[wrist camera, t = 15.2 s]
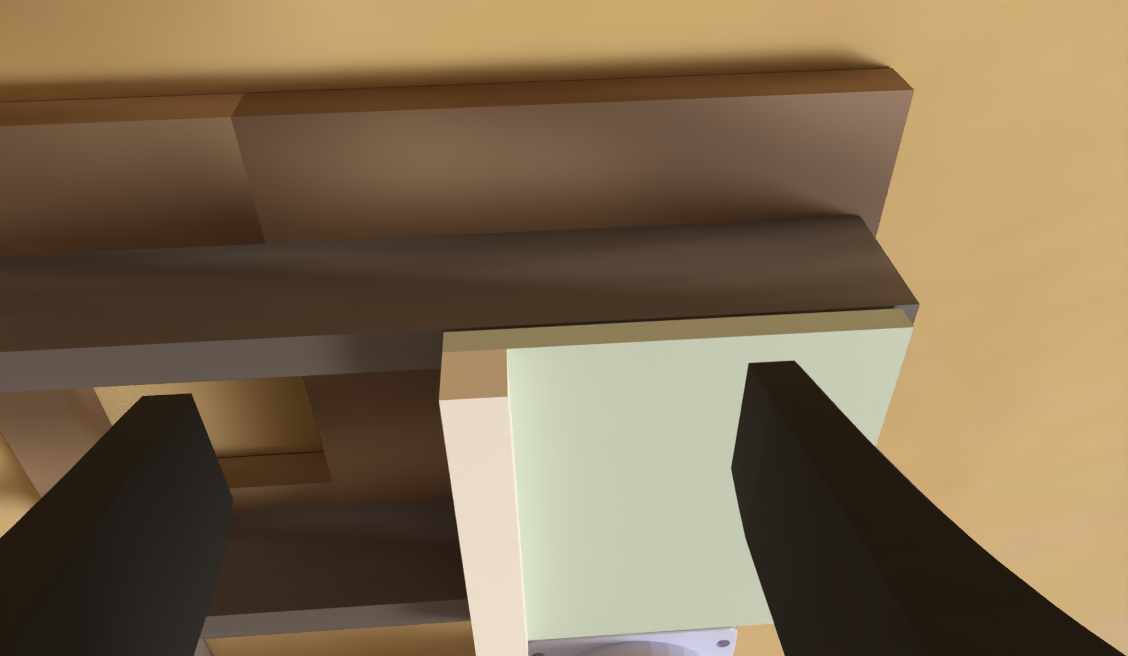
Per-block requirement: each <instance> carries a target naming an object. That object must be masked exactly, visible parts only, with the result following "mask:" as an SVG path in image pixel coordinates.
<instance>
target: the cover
mask: <svg viewBox="0 0 1128 656" xmlns="http://www.w3.org/2000/svg"><path fill="white" fill-rule="evenodd" d="M913 329H914V326H913V325H912V323H911V322H910V320H909V319H908V317H907V316H906V314H905V312H904V311H903V309H902V308H899V309H880V310H861V311H842V312H823V313H803V314H784V315H765V316H746V317H727V318H708V319H689V320H669V321H650V322H631V323H612V324H593V325H574V326H555V327H535V328H516V329H497V330H478V331H459V332H444V336H443V350H442V364H441V378H440V392H439V405H440V411H441V418H442V425H443V432H444V439H445V446H446V453H447V459H448V466H449V473H450V480H451V487H452V494H453V501H454V507H455V514H456V521H457V528H458V535H459V542H460V548H461V555H462V562H463V569H464V576H465V583H466V590H467V596H468V603H469V610H470V617H471V624H472V631H473V638H474V644H475V651H476V656H528V641H530V640H545V639H559V638H573V637H588V636H602V635H617V634H631V633H645V632H660V631H674V630H688V629H703V628H717V627H732V626H746V625H760V624H774V622H773V619H772V616H771V613H770V610H769V607H768V605H767V602H766V599H765V596H764V593H763V590H762V587H761V584H760V581H759V578H758V575H757V572H756V569H755V566H754V563H753V560H752V557H751V554H750V551H749V548H748V545H747V542H746V539H745V534H744V530H743V525H742V521H741V516H740V512H739V507H738V502H737V497H736V492H735V487H734V482H733V477H732V472H731V465H732V459H733V453H734V447H735V441H736V435H737V429H738V423H739V417H740V411H741V405H742V399H743V393H744V387H745V381H746V375H747V369H748V363H755V362H774V361H792V360H794V361H795V362H796V363H797V364H798V365H800V366H801V368H802V369H803V370H804V371H805V372H806V373H807V374H808V375H809V376H810V377H811V378H812V379H813V380H814V382H815V383H816V384H817V385H818V386H819V387H820V388H821V389H822V390H823V391H824V392H825V394H826V395H827V396H828V397H829V398H830V399H831V400H832V401H833V402H834V403H835V404H836V406H837V407H838V408H839V409H840V410H841V411H842V412H843V413H844V414H845V415H846V416H847V417H848V418H849V420H850V421H851V422H852V423H853V424H854V425H855V426H856V427H857V428H858V429H859V430H860V431H861V432H862V433H863V434H864V435H865V436H866V438H867V439H868V440H869V441H870V442H871V443H872V444H873V445H874V446H875V447H876V444H877V441H878V438H879V435H880V432H881V429H882V425H883V422H884V419H885V416H886V413H887V410H888V407H889V404H890V400H891V397H892V394H893V391H894V388H895V385H896V382H897V379H898V376H899V372H900V369H901V366H902V363H903V360H904V357H905V354H906V351H907V347H908V344H909V341H910V338H911V335H912V332H913Z"/></svg>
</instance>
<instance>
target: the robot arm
mask: <svg viewBox="0 0 1128 656" xmlns="http://www.w3.org/2000/svg"><path fill="white" fill-rule="evenodd" d="M731 472H732V477H733V482H734V487H735V492H736V497H737V502H738V507H739V512H740V516H741V521H742V525H743V530H744V534H745V539H746V542H747V545H748V548H749V551H750V554H751V557H752V560H753V563H754V566H755V569H756V572H757V575H758V578H759V581H760V584H761V587H762V590H763V593H764V596H765V599H766V602H767V605H768V607H769V610H770V613H771V616H772V619H773V622H774V625H775V628H776V631H777V634H778V637H779V640H780V643H781V645H782V648H783V651H784V654H785V656H1126V655H1124V654H1123V653H1121V652H1120V651H1118V650H1117V649H1115V648H1114V647H1112V646H1111V645H1110V644H1108V643H1107V642H1105V641H1104V640H1102V639H1101V638H1099V637H1098V636H1097V635H1095V634H1094V633H1092V632H1091V631H1089V630H1088V629H1086V628H1085V627H1084V626H1082V625H1081V624H1080V623H1078V622H1077V621H1075V620H1074V619H1073V618H1071V617H1070V616H1069V615H1067V614H1066V613H1064V612H1063V611H1062V610H1060V609H1059V608H1058V607H1056V606H1055V605H1054V604H1052V603H1051V602H1050V601H1048V600H1047V599H1046V598H1045V597H1043V596H1042V595H1041V594H1040V593H1038V592H1037V591H1036V590H1034V589H1033V588H1032V587H1031V586H1029V585H1028V584H1027V583H1026V582H1024V581H1023V580H1022V579H1020V578H1019V577H1018V576H1017V575H1015V574H1014V573H1013V572H1012V571H1010V570H1009V569H1008V568H1006V567H1005V566H1004V565H1003V564H1001V563H1000V562H999V561H998V560H996V559H995V558H994V557H993V556H992V555H991V554H989V553H988V552H987V551H986V550H985V549H983V548H982V547H981V546H980V545H979V544H978V543H976V542H975V541H974V540H973V539H972V538H971V537H969V536H968V535H967V534H966V533H965V532H964V531H963V530H962V529H961V528H959V527H958V526H957V525H956V524H955V523H954V522H953V521H952V520H951V519H949V518H948V517H947V516H946V515H945V514H944V513H943V512H942V511H941V510H940V509H938V508H937V507H936V506H935V505H934V504H933V503H932V502H931V501H930V500H929V499H928V498H927V497H926V496H925V495H924V494H923V493H921V492H920V491H919V490H918V489H917V488H916V487H915V486H914V485H913V484H912V483H911V482H910V481H909V480H908V479H907V478H906V477H905V476H904V475H903V474H902V473H901V472H900V471H899V470H898V469H897V468H896V467H895V466H894V465H893V464H892V463H891V462H890V461H889V460H888V459H887V458H886V457H885V456H884V455H883V454H882V453H881V452H880V451H879V450H878V449H877V448H876V447H875V446H874V445H873V444H872V443H871V442H870V441H869V440H868V439H867V438H866V436H865V435H864V434H863V433H862V432H861V431H860V430H859V429H858V428H857V427H856V426H855V425H854V424H853V423H852V422H851V421H850V420H849V418H848V417H847V416H846V415H845V414H844V413H843V412H842V411H841V410H840V409H839V408H838V407H837V406H836V404H835V403H834V402H833V401H832V400H831V399H830V398H829V397H828V396H827V395H826V394H825V392H824V391H823V390H822V389H821V388H820V387H819V386H818V385H817V384H816V383H815V382H814V380H813V379H812V378H811V377H810V376H809V375H808V374H807V373H806V372H805V371H804V370H803V369H802V368H801V366H800V365H798V364H797V363H796V362H795V361H794V360H792V361H774V362H755V363H748V369H747V375H746V381H745V387H744V393H743V399H742V405H741V411H740V417H739V423H738V429H737V435H736V441H735V447H734V453H733V459H732V465H731ZM232 503H233V497H232V494H231V492H230V489H229V487H228V484H227V482H226V479H225V477H224V474H223V472H222V469H221V467H220V464H219V462H218V459H217V457H216V454H215V452H214V449H213V447H212V444H211V442H210V439H209V437H208V434H207V432H206V429H205V427H204V424H203V422H202V419H201V417H200V414H199V412H198V409H197V407H196V404H195V402H194V399H193V397H192V394H191V393H190V394H172V395H154V396H142V397H141V398H140V399H139V400H138V401H137V402H136V403H135V404H134V405H133V406H132V407H131V408H130V409H129V410H128V411H127V412H126V413H125V414H124V415H123V416H122V417H121V418H120V419H119V420H118V421H117V422H116V423H115V424H114V425H113V426H112V427H111V428H110V429H109V430H108V431H107V432H106V433H105V434H104V435H103V436H102V437H101V438H100V439H99V440H98V441H97V442H96V443H95V445H94V446H93V447H92V448H91V449H90V450H89V451H88V452H87V453H86V454H85V455H84V456H83V457H82V458H81V459H80V460H79V461H78V462H77V463H76V464H75V465H74V466H73V467H72V468H71V469H70V470H69V471H68V472H67V473H66V474H65V475H64V476H63V477H62V478H61V479H60V480H59V481H58V482H57V483H56V484H55V485H54V486H53V487H52V488H51V489H50V490H49V491H48V492H47V493H46V494H45V495H44V496H43V497H42V498H41V499H40V500H39V501H38V502H37V503H36V504H35V505H34V506H33V507H32V508H31V509H30V510H29V511H28V512H27V513H26V514H25V515H24V516H23V517H22V518H21V519H20V520H19V521H18V522H17V523H16V524H15V525H14V526H13V527H12V528H11V529H10V530H9V531H7V532H6V533H5V534H4V535H3V536H2V537H1V538H0V656H194V653H195V650H196V647H197V644H198V641H199V638H200V635H201V632H202V629H203V626H204V622H205V619H206V616H207V613H208V610H209V607H210V603H211V600H212V597H213V594H214V591H215V587H216V584H217V581H218V577H219V574H220V570H221V565H222V560H223V555H224V550H225V545H226V540H227V534H228V528H229V522H230V516H231V510H232ZM736 638H737V630H736V626H732V627H717V628H703V629H688V630H674V631H660V632H645V633H631V634H617V635H602V636H588V637H573V638H559V639H545V640H530V641H528V656H733V652H734V648H735V643H736Z"/></svg>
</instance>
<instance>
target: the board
mask: <svg viewBox="0 0 1128 656" xmlns="http://www.w3.org/2000/svg"><path fill="white" fill-rule="evenodd" d="M913 92H914V89H913V88H912V87H911V86H910V85H909V84H908V83H907V82H906V81H905V80H904V79H903V78H902V77H901V76H900V75H899V74H898V73H897V72H896V71H895V70H894V69H893V68H881V69H855V70H829V71H803V72H777V73H751V74H725V75H700V76H674V77H648V78H622V79H596V80H570V81H544V82H518V83H493V84H467V85H441V86H415V87H389V88H363V89H337V90H311V91H286V92H260V93H234V94H208V95H182V96H156V97H130V98H105V99H79V100H53V101H27V102H1V103H0V432H1V434H2V435H3V437H4V439H5V440H6V442H7V444H8V445H9V447H10V448H11V450H12V452H13V453H14V455H15V456H16V458H17V460H18V461H19V463H20V465H21V466H22V468H23V469H24V471H25V473H26V474H27V476H28V477H29V479H30V481H31V482H32V484H33V486H34V487H35V489H36V490H37V492H38V494H39V495H40V497H41V498H42V497H43V496H44V495H45V494H46V493H47V492H48V491H49V490H50V489H51V488H52V487H53V486H54V485H55V484H56V483H57V482H58V481H59V480H60V479H61V478H62V477H63V476H64V475H65V474H66V473H67V472H68V471H69V470H70V469H71V468H72V467H73V466H74V465H75V464H76V463H77V462H78V461H79V460H80V459H81V458H82V457H83V456H84V455H85V454H86V453H87V452H88V451H89V450H90V449H91V448H92V447H93V446H94V445H95V443H96V442H97V441H98V440H99V439H100V438H101V437H102V436H103V435H104V434H105V433H106V432H107V431H108V430H109V429H110V428H111V427H112V425H111V423H110V421H109V419H108V417H107V415H106V413H105V411H104V409H103V407H102V405H101V403H100V401H99V399H98V397H97V395H96V393H95V391H94V389H93V387H107V386H125V385H144V384H162V383H180V382H199V381H217V380H236V379H254V378H273V377H291V376H303V378H304V382H305V385H306V389H307V393H308V396H309V400H310V403H311V407H312V411H313V414H314V418H315V421H316V425H317V428H318V432H319V436H320V439H321V443H322V446H323V450H324V452H315V453H298V454H281V455H264V456H247V457H230V458H217V459H218V462H219V464H220V467H221V469H222V472H223V474H224V477H225V479H226V482H227V484H228V487H229V489H230V492H231V494H232V497H233V503H232V510H231V516H230V522H229V528H228V534H227V540H226V545H225V550H224V555H223V560H222V565H221V570H220V574H219V577H218V581H217V584H216V587H215V591H214V594H213V597H212V600H211V603H210V607H209V610H208V613H207V616H206V619H205V622H204V626H203V629H202V632H201V635H200V638H199V639H210V638H224V637H239V636H254V635H268V634H283V633H298V632H312V631H327V630H342V629H356V628H371V627H385V626H400V625H415V624H429V623H444V622H459V621H471V617H470V610H469V603H468V596H467V590H466V583H465V576H464V569H463V562H462V555H461V548H460V542H459V535H458V528H457V521H456V514H455V507H454V501H453V494H452V487H451V480H450V473H449V466H448V459H447V453H446V446H445V439H444V432H443V425H442V418H441V411H440V405H439V392H440V378H441V364H442V350H443V336H444V332H459V331H478V330H497V329H516V328H535V327H555V326H574V325H593V324H612V323H631V322H650V321H669V320H689V319H708V318H727V317H746V316H765V315H784V314H803V313H823V312H842V311H861V310H880V309H899V308H902V309H903V311H904V312H905V314H906V316H907V317H908V319H909V320H910V322H911V323H912V325H913V323H914V320H915V317H916V314H917V311H918V308H919V305H920V304H919V303H918V301H917V300H916V298H915V297H914V295H913V294H912V292H911V291H910V289H909V288H908V286H907V285H906V283H905V282H904V280H903V279H902V277H901V276H900V274H899V273H898V271H897V270H896V268H895V267H894V265H893V264H892V262H891V261H890V259H889V258H888V256H887V255H886V253H885V252H884V250H883V249H882V248H881V246H880V245H879V243H878V242H877V240H876V239H875V238H876V234H877V230H878V226H879V222H880V218H881V215H882V211H883V207H884V203H885V199H886V196H887V192H888V188H889V184H890V180H891V176H892V173H893V169H894V165H895V161H896V157H897V153H898V150H899V146H900V142H901V138H902V134H903V130H904V127H905V123H906V119H907V115H908V111H909V107H910V104H911V100H912V96H913Z"/></svg>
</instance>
